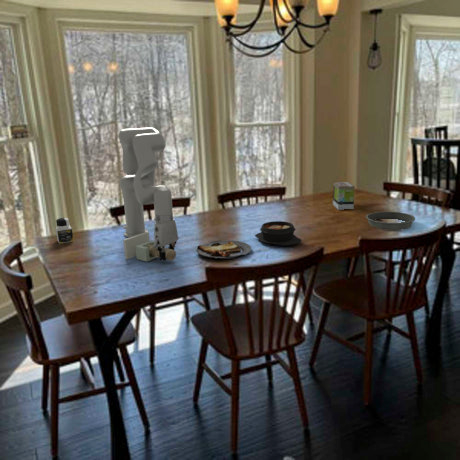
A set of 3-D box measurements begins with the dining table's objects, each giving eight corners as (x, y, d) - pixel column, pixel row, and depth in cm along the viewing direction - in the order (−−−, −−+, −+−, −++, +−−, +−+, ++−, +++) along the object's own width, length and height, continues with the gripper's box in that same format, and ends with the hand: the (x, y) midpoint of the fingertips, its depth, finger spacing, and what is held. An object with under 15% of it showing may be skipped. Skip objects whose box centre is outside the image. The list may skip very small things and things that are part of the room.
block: (136, 259, 201) (135, 246, 199) (153, 252, 208) (152, 240, 207) (146, 261, 197) (145, 248, 195) (163, 255, 204) (162, 242, 203)
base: (125, 258, 202) (123, 239, 200) (148, 250, 213) (146, 231, 210) (127, 259, 201) (125, 240, 199) (150, 250, 212) (148, 232, 210)
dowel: (146, 256, 200) (145, 246, 199) (153, 253, 204) (152, 243, 203) (168, 262, 192) (167, 251, 191) (176, 258, 196) (175, 248, 195)
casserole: (246, 240, 222) (245, 224, 220) (273, 232, 233) (273, 216, 231) (282, 252, 203) (282, 234, 201) (310, 243, 214) (310, 226, 212)
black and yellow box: (59, 244, 228) (55, 221, 225) (57, 240, 234) (53, 218, 231) (73, 241, 231) (70, 219, 228) (71, 238, 237) (68, 216, 234)
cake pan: (394, 217, 254) (394, 209, 253) (425, 228, 231) (425, 219, 230) (356, 222, 247) (356, 214, 246) (384, 233, 224) (384, 225, 223)
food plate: (207, 264, 191) (207, 256, 190) (189, 249, 211) (189, 242, 211) (259, 256, 201) (259, 248, 200) (237, 242, 221) (237, 235, 220)
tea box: (354, 209, 272) (355, 185, 268) (337, 210, 273) (338, 186, 268) (348, 204, 287) (349, 181, 283) (332, 204, 287) (333, 181, 283)
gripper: (155, 223, 182) (159, 265, 187) (184, 214, 195) (186, 254, 200) (143, 221, 186) (147, 262, 191) (171, 212, 199) (174, 251, 204)
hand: (167, 257), depth 196 cm, fingers closed on dowel, 4 cm apart
